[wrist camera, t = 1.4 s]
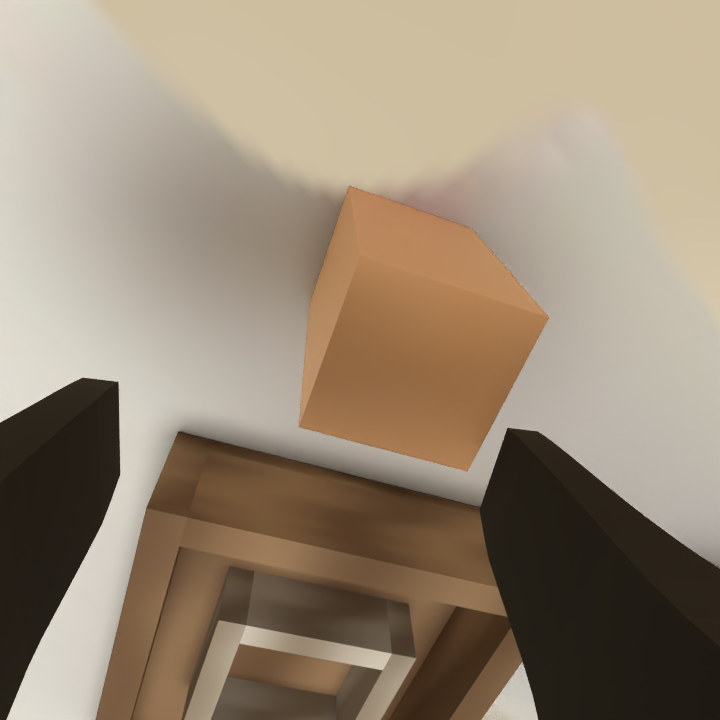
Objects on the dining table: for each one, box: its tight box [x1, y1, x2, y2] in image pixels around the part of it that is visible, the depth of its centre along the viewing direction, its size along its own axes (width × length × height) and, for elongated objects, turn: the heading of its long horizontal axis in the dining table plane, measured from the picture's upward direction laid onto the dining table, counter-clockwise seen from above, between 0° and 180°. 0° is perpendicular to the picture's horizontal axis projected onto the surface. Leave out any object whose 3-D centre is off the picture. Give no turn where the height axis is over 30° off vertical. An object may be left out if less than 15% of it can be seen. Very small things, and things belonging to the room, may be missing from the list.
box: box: [96, 432, 522, 720], centre depth 24 cm, size 14×18×4 cm
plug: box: [299, 186, 549, 471], centre depth 15 cm, size 4×4×7 cm
